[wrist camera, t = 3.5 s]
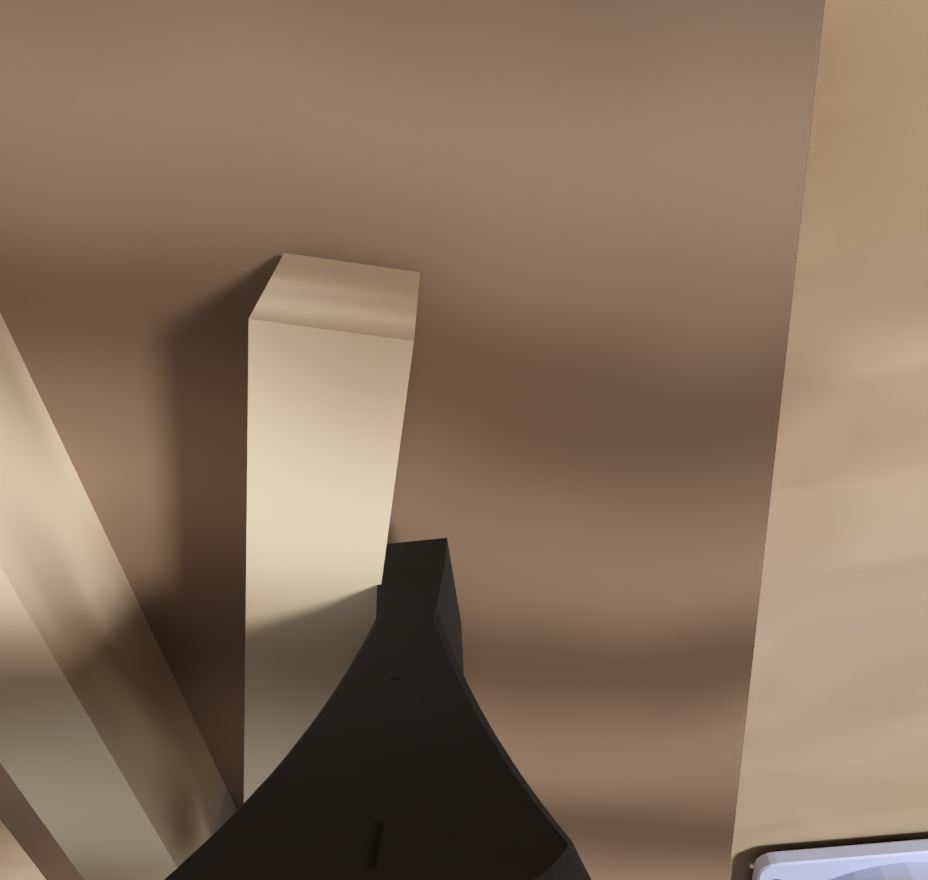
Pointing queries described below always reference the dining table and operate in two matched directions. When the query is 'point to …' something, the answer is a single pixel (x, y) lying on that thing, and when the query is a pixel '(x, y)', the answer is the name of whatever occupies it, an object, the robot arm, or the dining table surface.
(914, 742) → the dining table surface
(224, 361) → the tongs base
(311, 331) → the bar
